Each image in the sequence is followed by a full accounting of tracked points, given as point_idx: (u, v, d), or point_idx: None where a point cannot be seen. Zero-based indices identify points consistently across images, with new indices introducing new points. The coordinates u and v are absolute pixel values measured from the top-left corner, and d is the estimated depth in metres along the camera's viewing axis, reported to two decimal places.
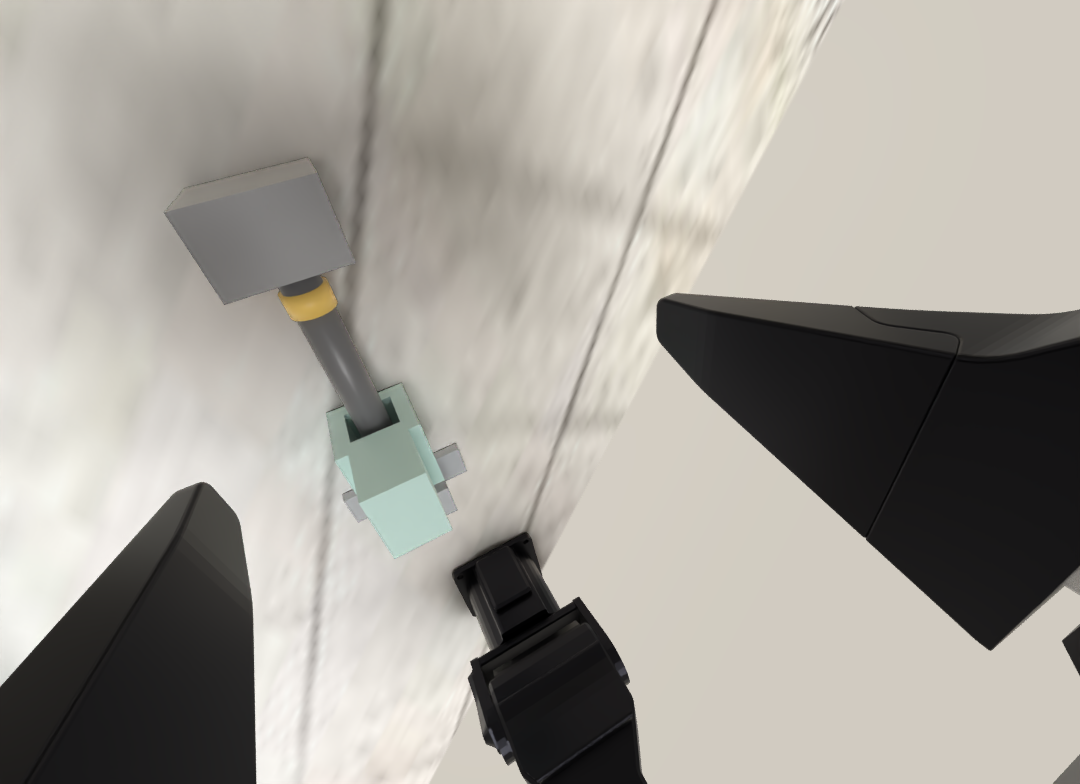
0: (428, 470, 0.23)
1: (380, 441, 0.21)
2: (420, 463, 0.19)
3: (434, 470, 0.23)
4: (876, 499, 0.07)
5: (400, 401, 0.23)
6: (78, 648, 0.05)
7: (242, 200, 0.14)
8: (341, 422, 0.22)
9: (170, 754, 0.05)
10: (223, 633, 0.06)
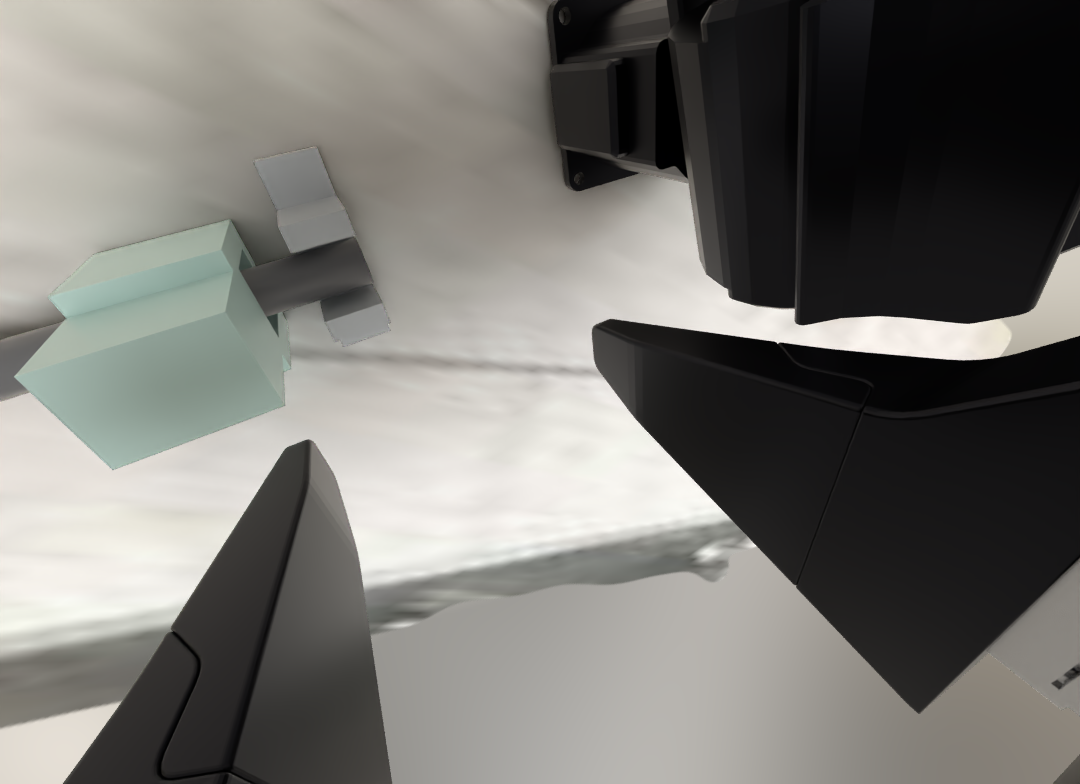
0: (188, 281, 0.12)
1: None
2: (28, 364, 0.10)
3: (190, 269, 0.12)
4: (802, 548, 0.07)
5: None
6: (252, 568, 0.05)
7: None
8: None
9: (329, 668, 0.05)
10: (345, 573, 0.07)
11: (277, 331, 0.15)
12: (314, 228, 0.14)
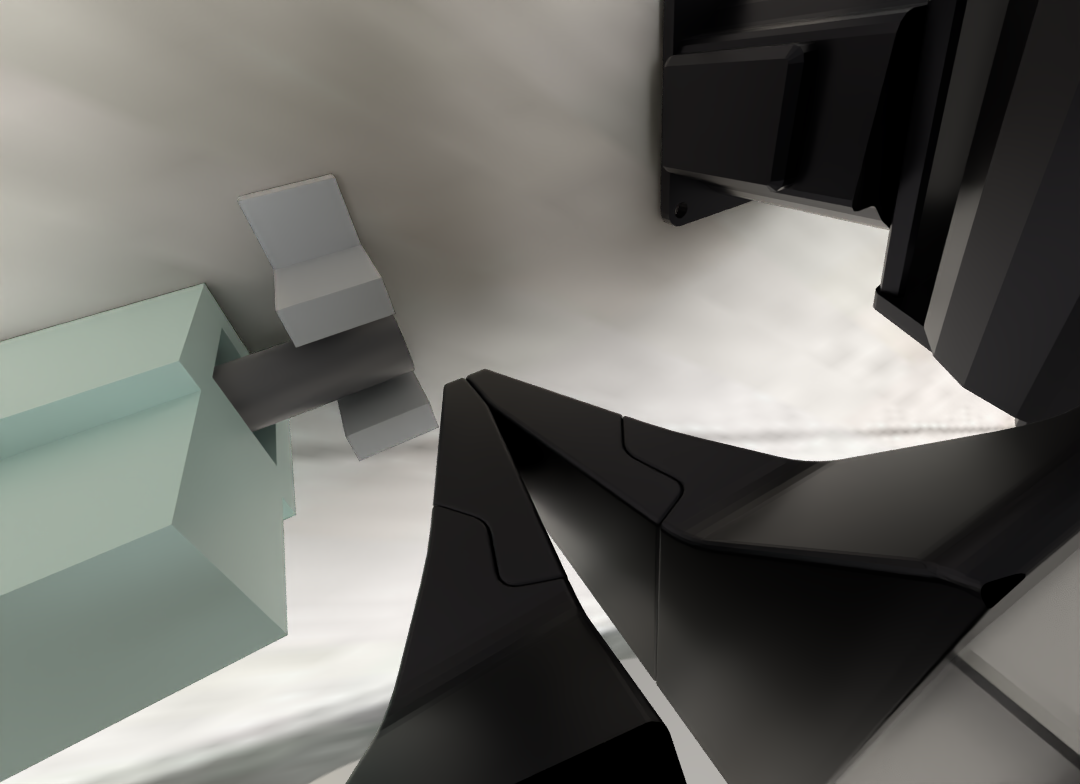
0: (123, 413, 0.07)
1: None
2: None
3: (126, 395, 0.07)
4: (650, 647, 0.06)
5: None
6: (482, 462, 0.06)
7: None
8: None
9: None
10: None
11: (274, 451, 0.10)
12: (333, 308, 0.09)
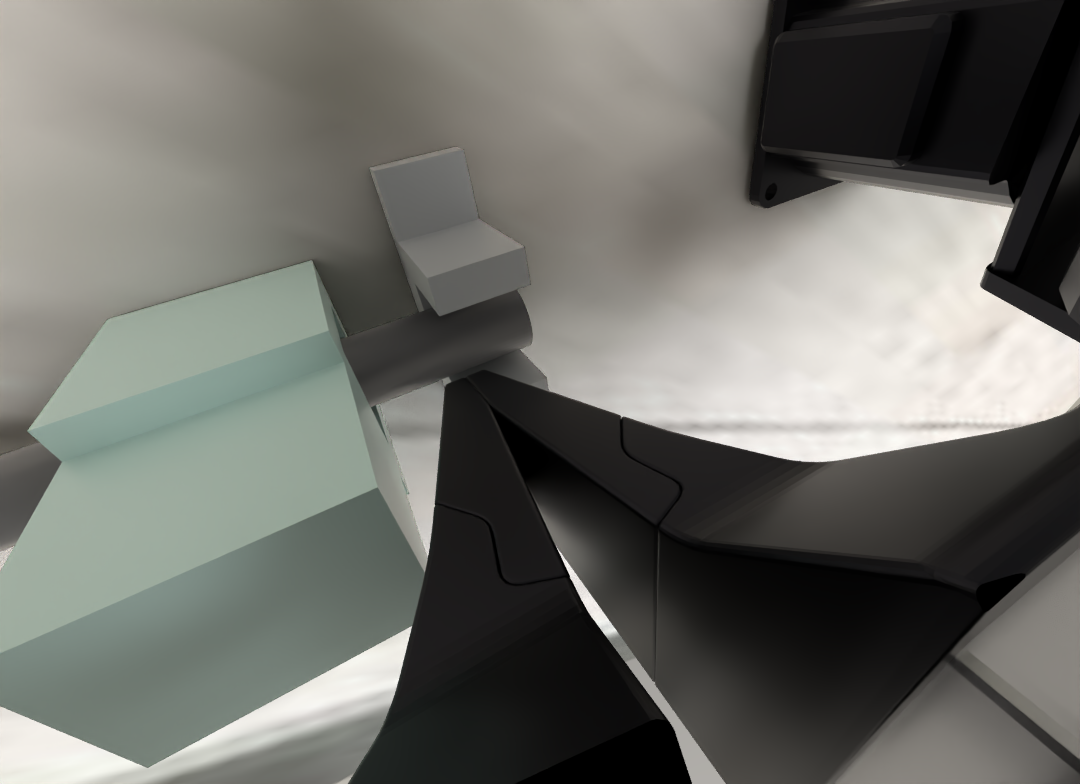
0: (272, 383, 0.07)
1: None
2: None
3: (277, 365, 0.07)
4: (649, 647, 0.06)
5: None
6: (484, 461, 0.06)
7: None
8: None
9: None
10: None
11: (382, 430, 0.10)
12: (477, 277, 0.09)
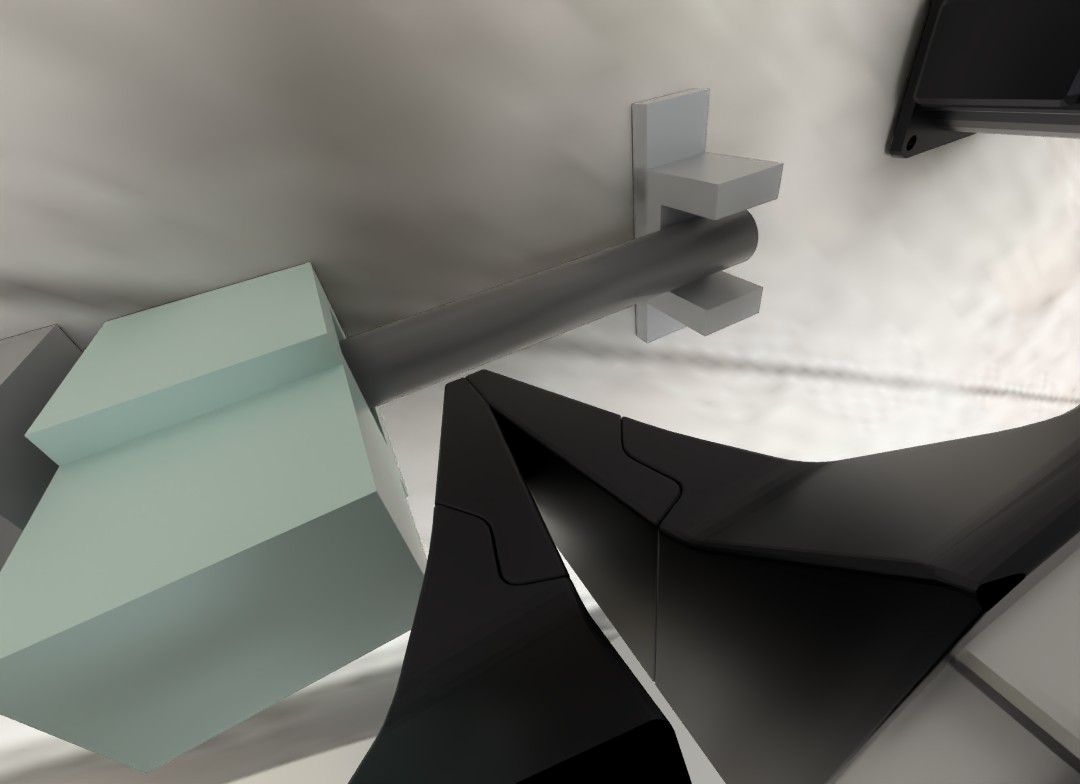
0: (270, 386, 0.07)
1: None
2: None
3: (275, 367, 0.07)
4: (649, 648, 0.06)
5: None
6: (484, 461, 0.06)
7: None
8: None
9: None
10: None
11: (381, 432, 0.10)
12: (748, 187, 0.11)
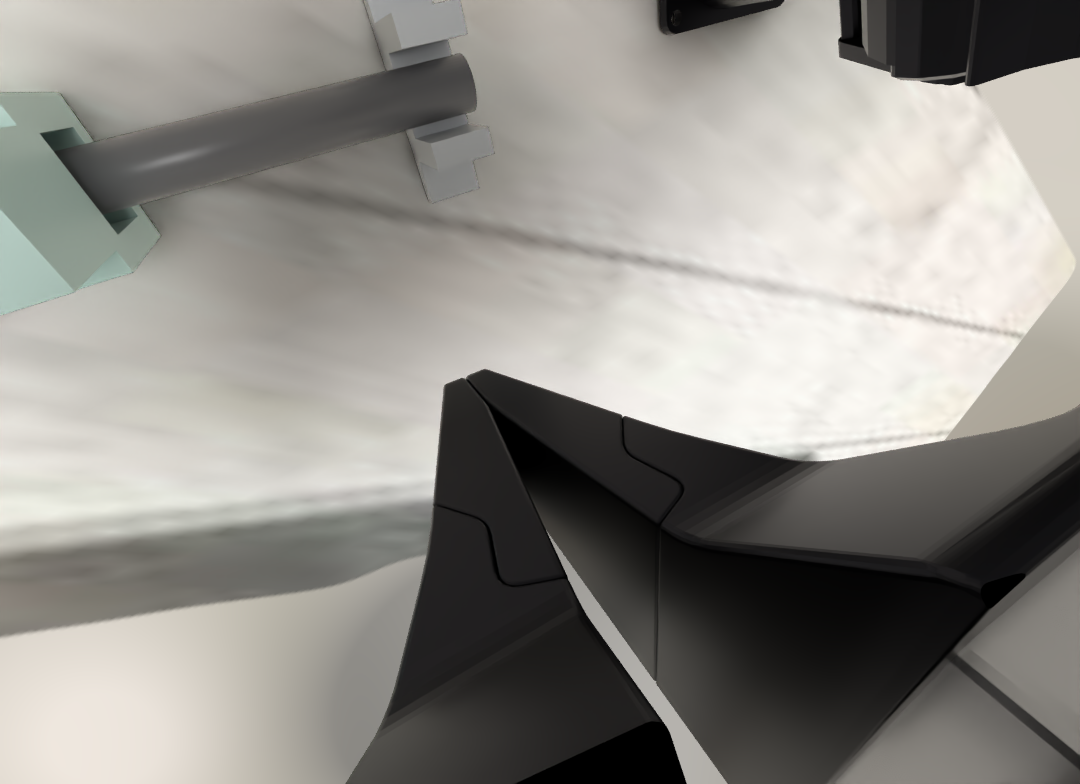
0: None
1: None
2: None
3: None
4: (650, 647, 0.06)
5: None
6: (482, 462, 0.06)
7: None
8: None
9: None
10: None
11: (122, 230, 0.12)
12: (427, 19, 0.13)
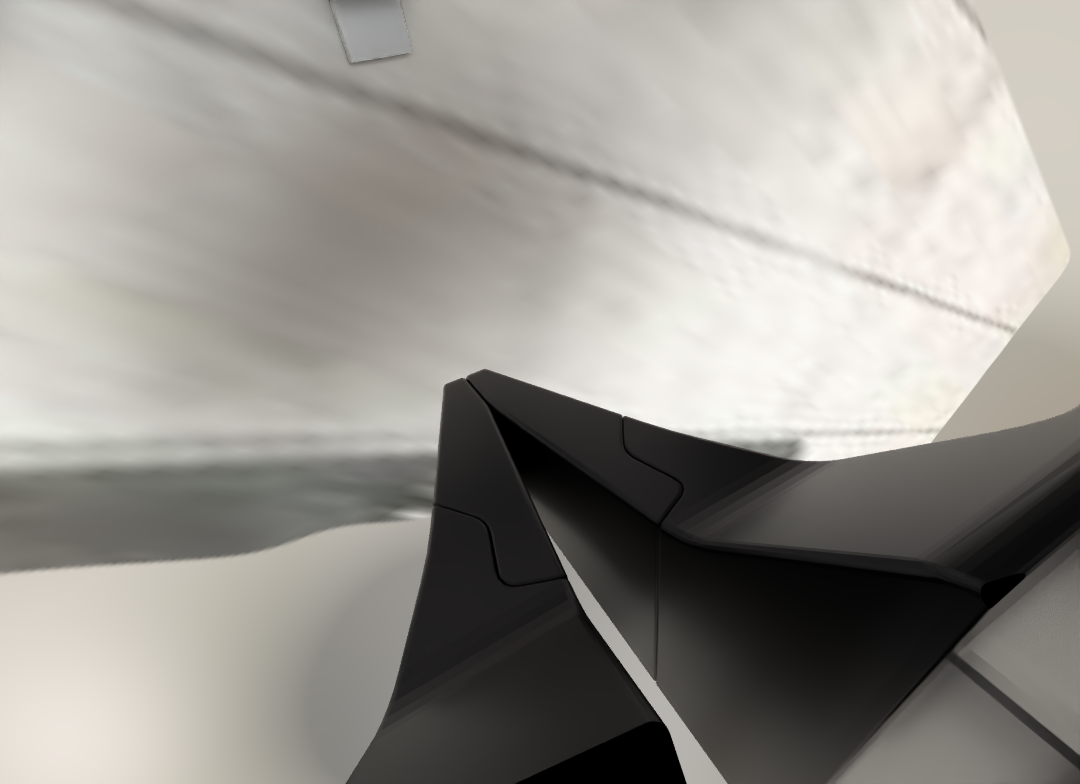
0: None
1: None
2: None
3: None
4: (650, 647, 0.06)
5: None
6: (483, 462, 0.06)
7: None
8: None
9: None
10: None
11: None
12: None
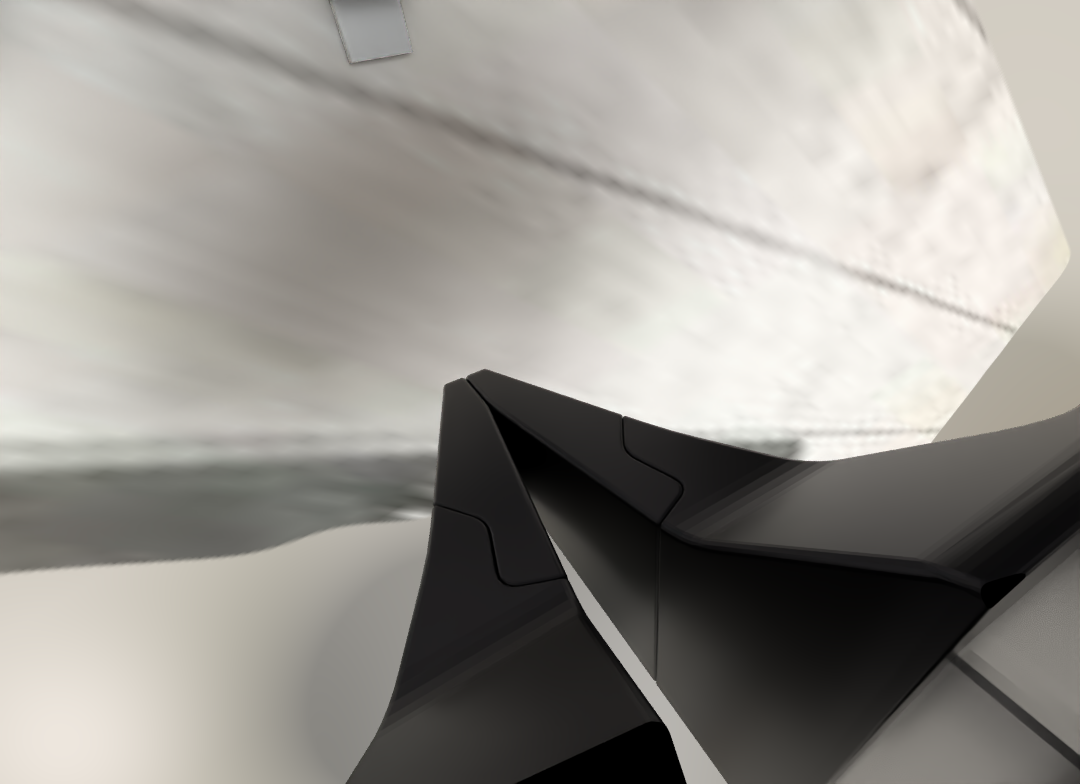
0: None
1: None
2: None
3: None
4: (650, 647, 0.06)
5: None
6: (483, 462, 0.06)
7: None
8: None
9: None
10: None
11: None
12: None
